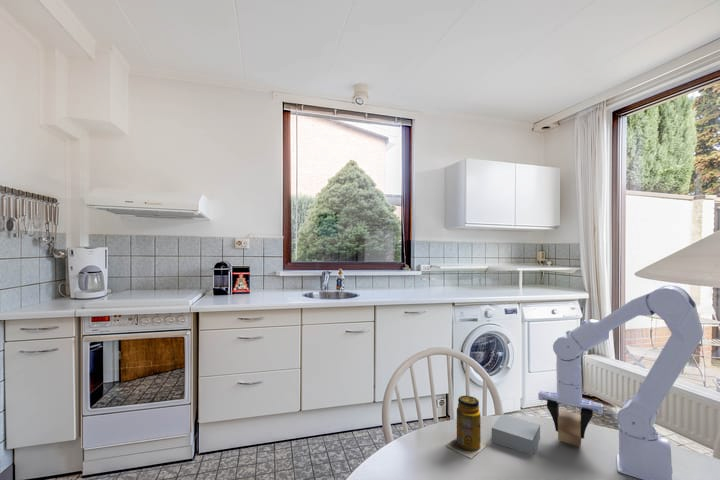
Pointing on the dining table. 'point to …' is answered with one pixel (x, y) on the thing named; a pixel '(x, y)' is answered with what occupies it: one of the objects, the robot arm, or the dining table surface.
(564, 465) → the dining table surface
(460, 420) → the condiment
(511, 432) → the slate box
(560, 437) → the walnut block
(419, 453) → the dining table surface
